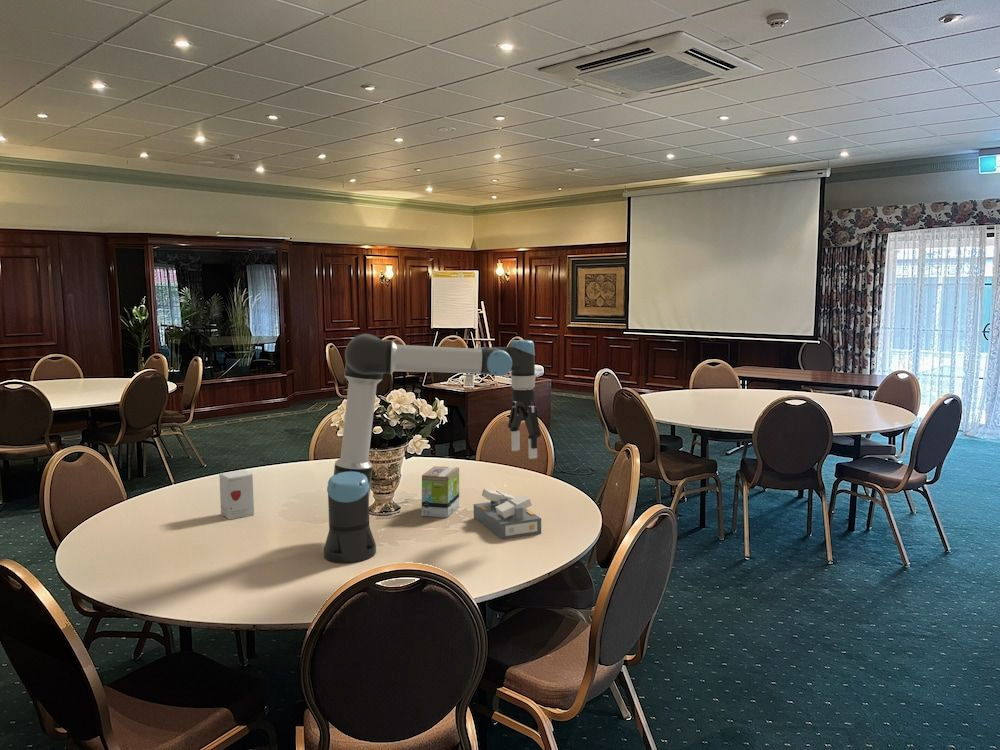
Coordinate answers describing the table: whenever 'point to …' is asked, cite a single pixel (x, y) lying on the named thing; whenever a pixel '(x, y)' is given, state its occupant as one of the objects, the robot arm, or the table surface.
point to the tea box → (440, 491)
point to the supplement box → (236, 494)
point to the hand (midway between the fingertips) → (524, 454)
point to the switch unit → (507, 520)
